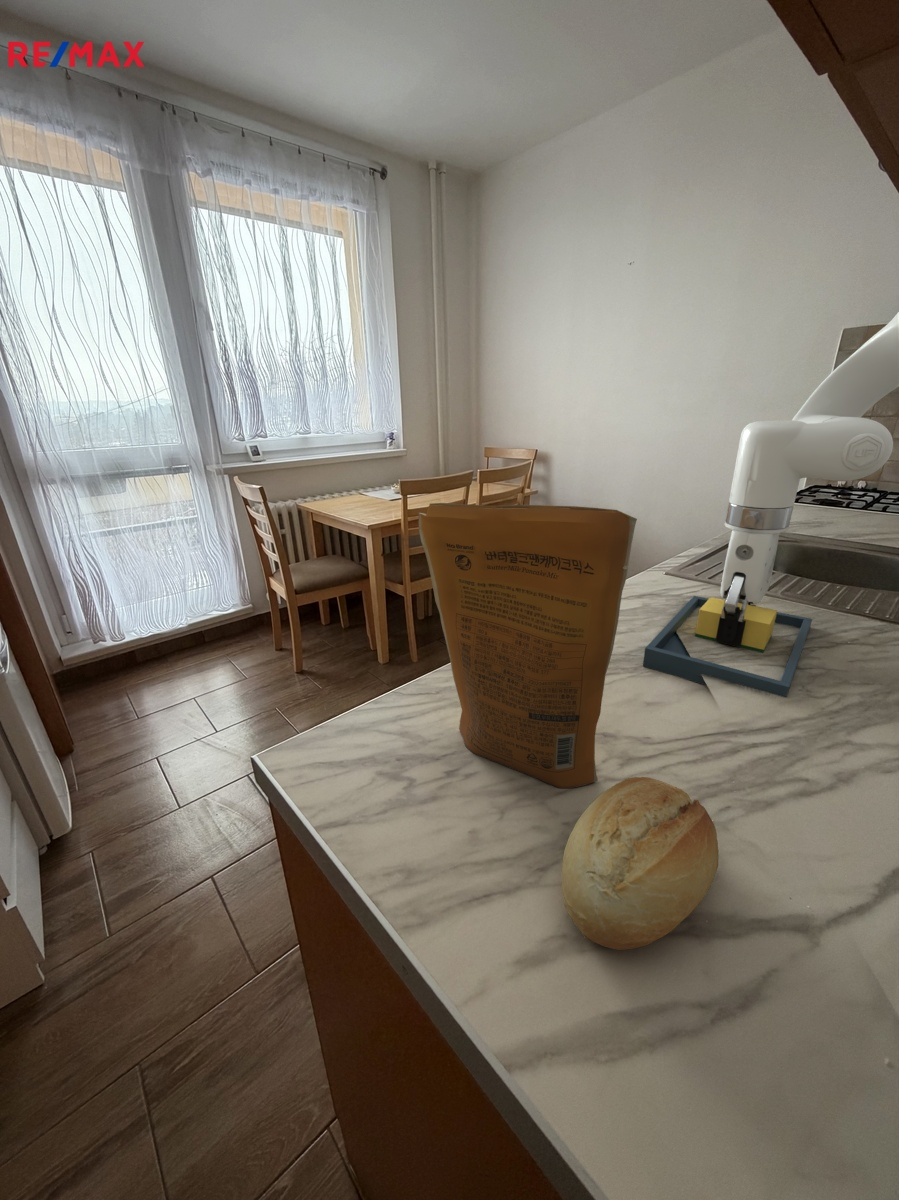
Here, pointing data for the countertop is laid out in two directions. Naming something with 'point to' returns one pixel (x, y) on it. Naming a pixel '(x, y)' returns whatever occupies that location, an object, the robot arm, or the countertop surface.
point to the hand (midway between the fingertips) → (733, 634)
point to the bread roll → (638, 863)
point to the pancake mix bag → (529, 626)
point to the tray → (675, 660)
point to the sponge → (755, 626)
